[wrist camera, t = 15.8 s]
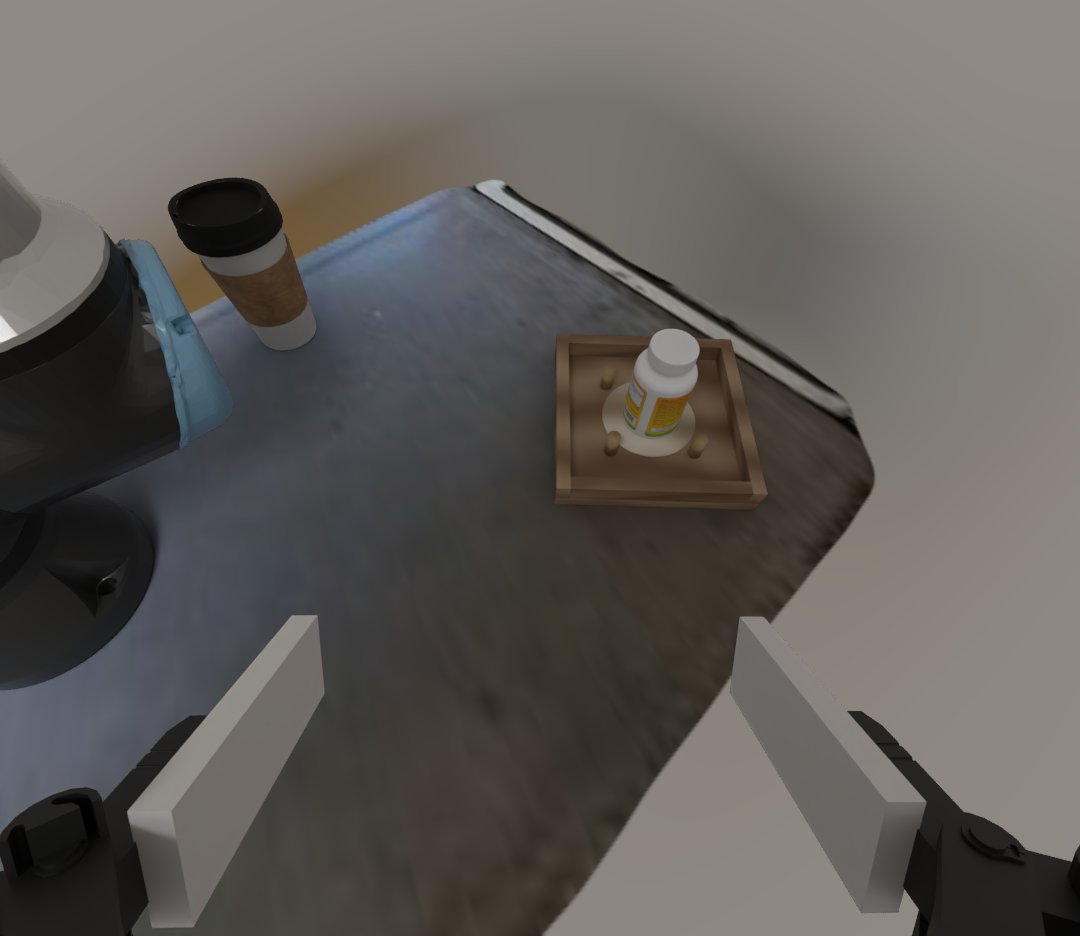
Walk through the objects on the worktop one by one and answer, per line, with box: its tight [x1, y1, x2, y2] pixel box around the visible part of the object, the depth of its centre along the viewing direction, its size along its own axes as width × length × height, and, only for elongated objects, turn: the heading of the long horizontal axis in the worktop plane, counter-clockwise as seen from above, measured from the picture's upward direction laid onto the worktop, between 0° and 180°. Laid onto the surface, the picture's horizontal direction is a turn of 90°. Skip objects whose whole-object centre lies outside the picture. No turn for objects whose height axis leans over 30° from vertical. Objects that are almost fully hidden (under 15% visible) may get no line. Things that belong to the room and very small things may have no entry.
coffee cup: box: [168, 178, 317, 351], centre depth 49 cm, size 8×8×15 cm
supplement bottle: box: [623, 329, 700, 439], centre depth 45 cm, size 5×5×10 cm
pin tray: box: [555, 334, 768, 510], centre depth 48 cm, size 18×18×4 cm
